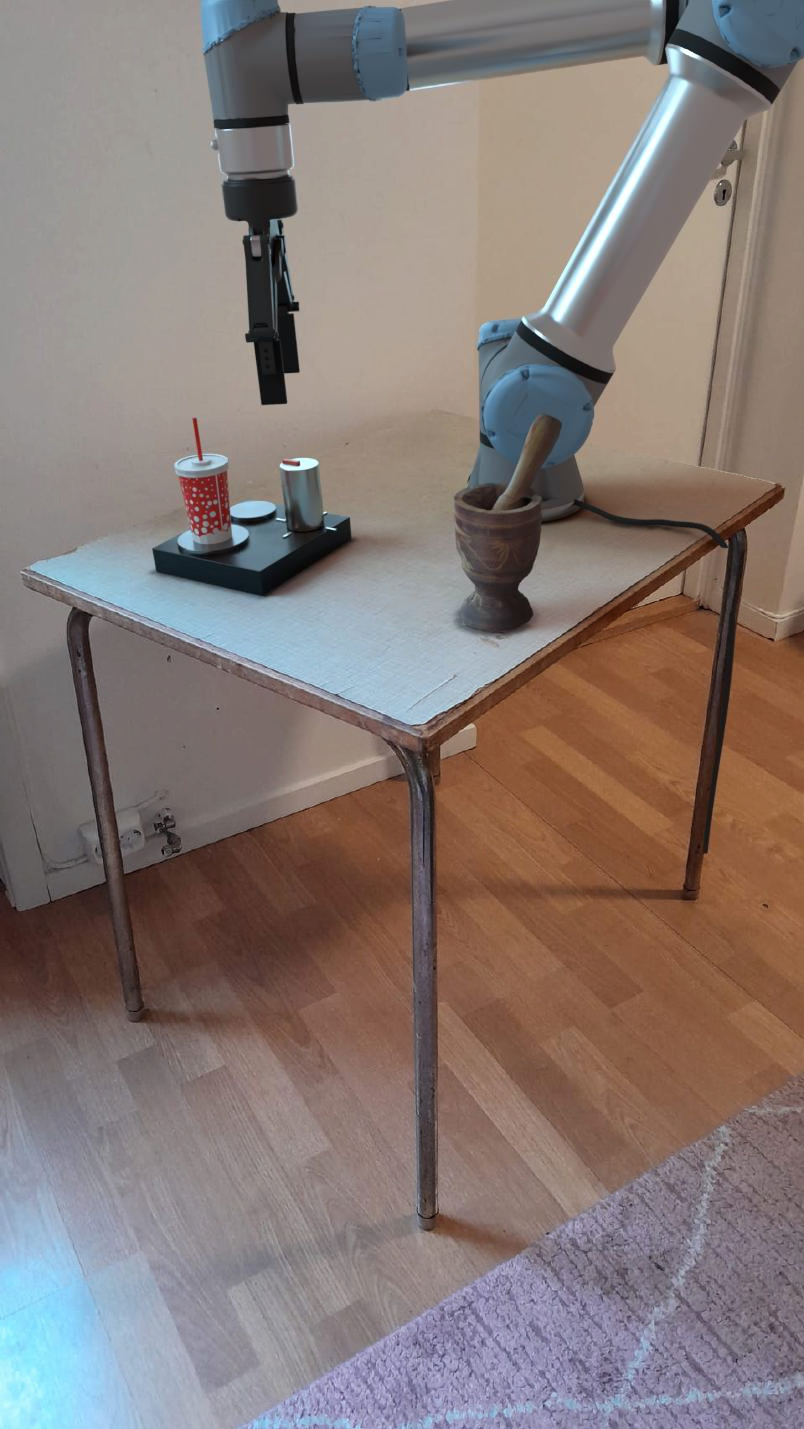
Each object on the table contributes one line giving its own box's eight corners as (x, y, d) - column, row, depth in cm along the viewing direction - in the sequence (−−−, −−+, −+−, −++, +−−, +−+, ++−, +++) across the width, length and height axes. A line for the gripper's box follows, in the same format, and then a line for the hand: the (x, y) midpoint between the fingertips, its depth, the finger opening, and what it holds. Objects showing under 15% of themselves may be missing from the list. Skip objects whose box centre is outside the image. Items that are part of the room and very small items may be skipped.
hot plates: (303, 512, 130) (303, 507, 129) (218, 560, 118) (217, 555, 118) (248, 502, 134) (247, 498, 133) (160, 548, 122) (160, 543, 122)
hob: (358, 541, 129) (356, 516, 127) (269, 597, 116) (266, 571, 114) (250, 521, 136) (247, 497, 135) (156, 572, 124) (151, 547, 122)
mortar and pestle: (497, 583, 116) (497, 402, 106) (567, 599, 112) (574, 412, 101) (441, 624, 108) (435, 432, 98) (514, 643, 104) (516, 444, 93)
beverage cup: (220, 523, 126) (203, 406, 119) (248, 536, 122) (232, 416, 115) (176, 537, 123) (156, 418, 116) (203, 551, 119) (184, 429, 112)
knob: (332, 521, 126) (326, 458, 122) (310, 534, 123) (303, 469, 119) (301, 515, 129) (294, 453, 125) (278, 528, 125) (271, 465, 121)
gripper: (238, 168, 117) (262, 363, 128) (198, 188, 95) (231, 420, 106) (305, 164, 116) (323, 359, 127) (280, 183, 95) (304, 416, 106)
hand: (281, 387), depth 117 cm, fingers open, 13 cm apart
